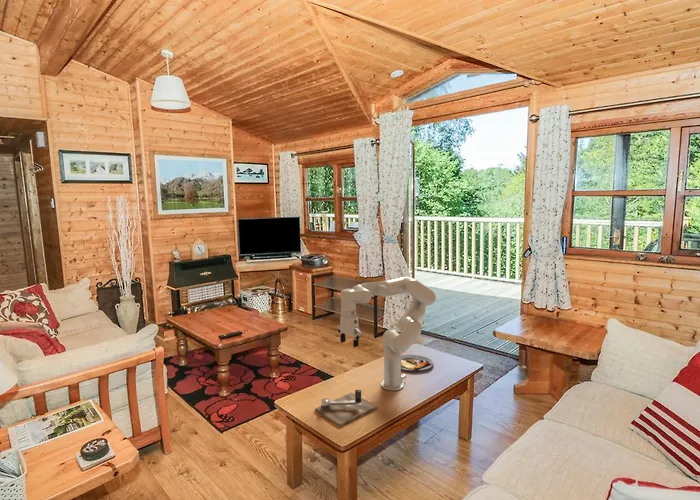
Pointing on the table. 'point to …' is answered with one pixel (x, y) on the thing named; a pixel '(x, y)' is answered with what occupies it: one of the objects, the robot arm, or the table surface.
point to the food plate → (415, 363)
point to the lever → (327, 402)
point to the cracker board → (346, 411)
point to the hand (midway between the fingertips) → (349, 344)
